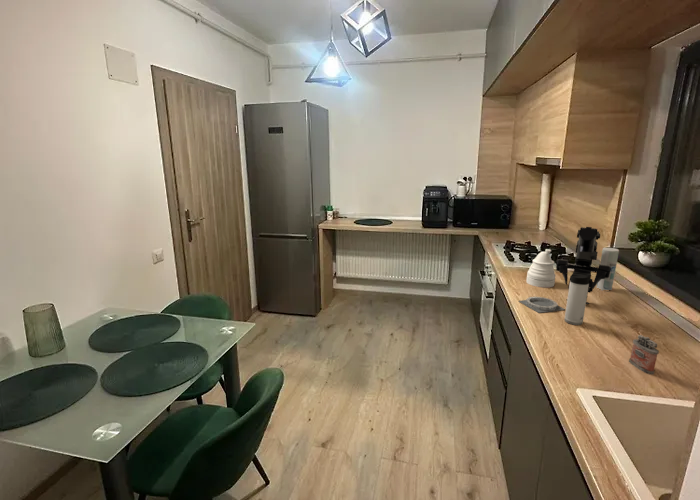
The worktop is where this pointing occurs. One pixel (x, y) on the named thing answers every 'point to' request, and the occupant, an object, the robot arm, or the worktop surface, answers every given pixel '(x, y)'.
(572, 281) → the travel mug
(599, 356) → the worktop surface
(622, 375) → the worktop surface
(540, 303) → the base mat
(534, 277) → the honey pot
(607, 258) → the spray can
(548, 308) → the metal collar
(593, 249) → the robot arm
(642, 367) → the red and grey container
